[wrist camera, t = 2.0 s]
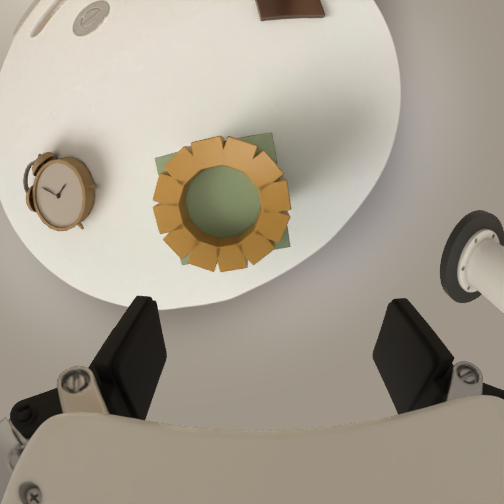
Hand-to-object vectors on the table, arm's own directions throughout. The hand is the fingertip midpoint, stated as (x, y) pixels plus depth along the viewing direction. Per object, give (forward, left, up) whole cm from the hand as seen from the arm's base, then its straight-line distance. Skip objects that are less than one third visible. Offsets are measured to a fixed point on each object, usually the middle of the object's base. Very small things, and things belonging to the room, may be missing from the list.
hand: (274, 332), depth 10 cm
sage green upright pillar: (+3, -3, -28) cm, 28 cm away
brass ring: (+3, -3, -11) cm, 12 cm away
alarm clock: (+31, -9, -28) cm, 43 cm away
